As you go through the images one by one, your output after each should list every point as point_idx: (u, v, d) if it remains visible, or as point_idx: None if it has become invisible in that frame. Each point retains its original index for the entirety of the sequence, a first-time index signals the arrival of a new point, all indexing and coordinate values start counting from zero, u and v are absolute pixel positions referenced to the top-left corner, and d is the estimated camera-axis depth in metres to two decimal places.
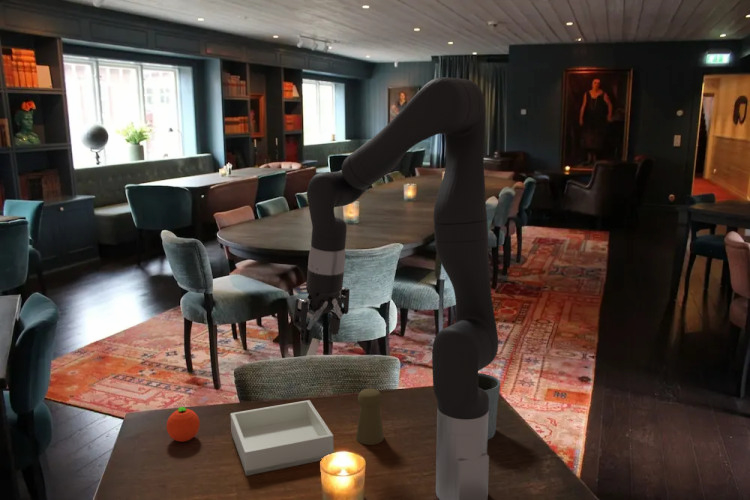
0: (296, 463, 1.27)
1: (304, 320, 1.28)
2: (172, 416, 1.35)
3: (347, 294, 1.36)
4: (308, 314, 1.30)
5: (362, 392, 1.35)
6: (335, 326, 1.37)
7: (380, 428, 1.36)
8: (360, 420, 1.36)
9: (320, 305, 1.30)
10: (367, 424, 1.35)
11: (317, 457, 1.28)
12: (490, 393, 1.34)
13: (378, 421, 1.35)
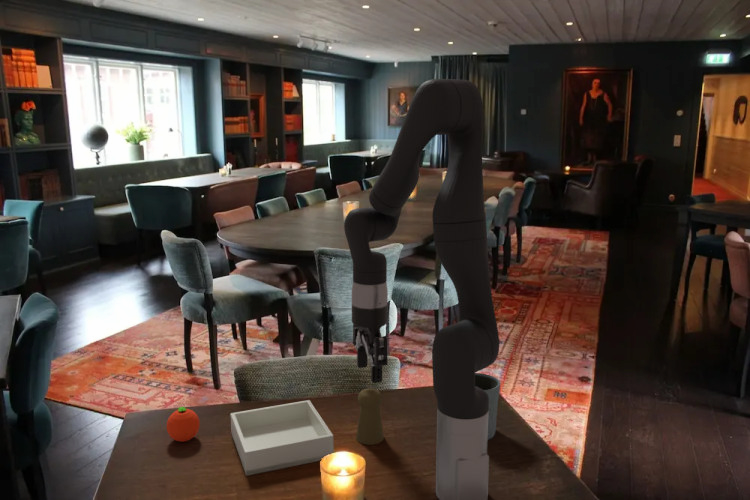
0: (296, 463, 1.27)
1: None
2: (172, 416, 1.35)
3: None
4: None
5: (362, 392, 1.35)
6: (365, 358, 1.38)
7: (380, 428, 1.36)
8: (360, 420, 1.36)
9: None
10: (367, 424, 1.35)
11: (317, 457, 1.28)
12: (490, 393, 1.34)
13: (378, 421, 1.35)
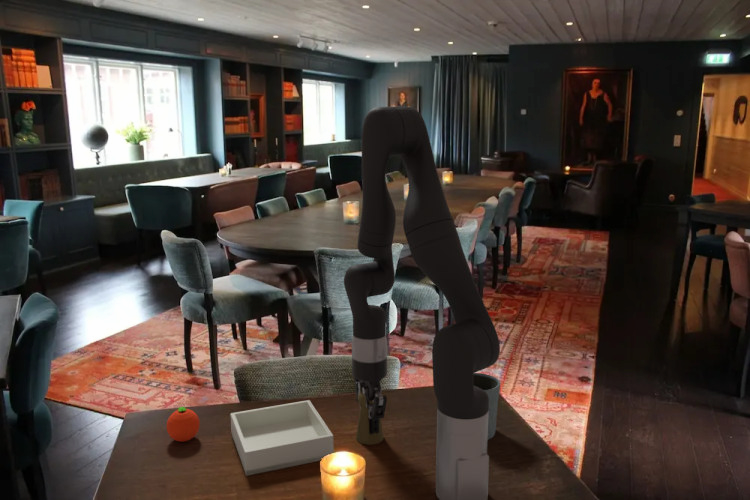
0: (296, 463, 1.27)
1: None
2: (172, 416, 1.35)
3: None
4: None
5: (362, 392, 1.35)
6: None
7: (380, 428, 1.36)
8: (360, 420, 1.36)
9: None
10: (367, 424, 1.35)
11: (317, 457, 1.28)
12: (490, 393, 1.34)
13: None
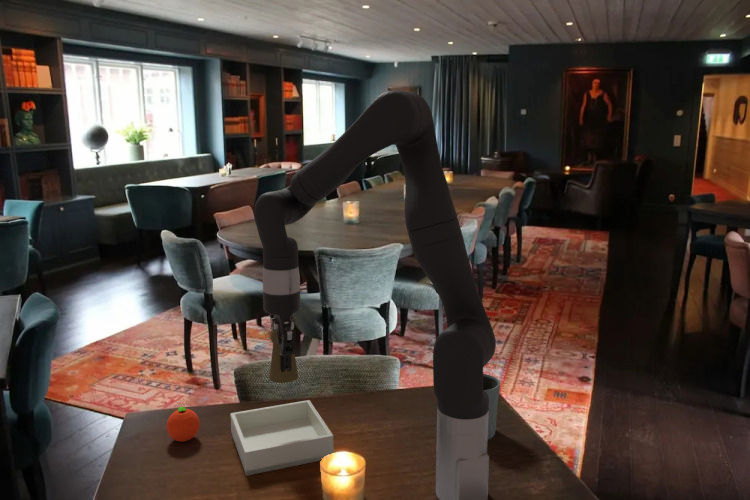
0: (296, 463, 1.27)
1: None
2: (172, 416, 1.35)
3: None
4: None
5: None
6: None
7: (293, 366, 1.30)
8: (272, 357, 1.30)
9: (291, 327, 1.28)
10: (279, 361, 1.29)
11: (317, 457, 1.28)
12: (490, 393, 1.34)
13: (291, 358, 1.30)
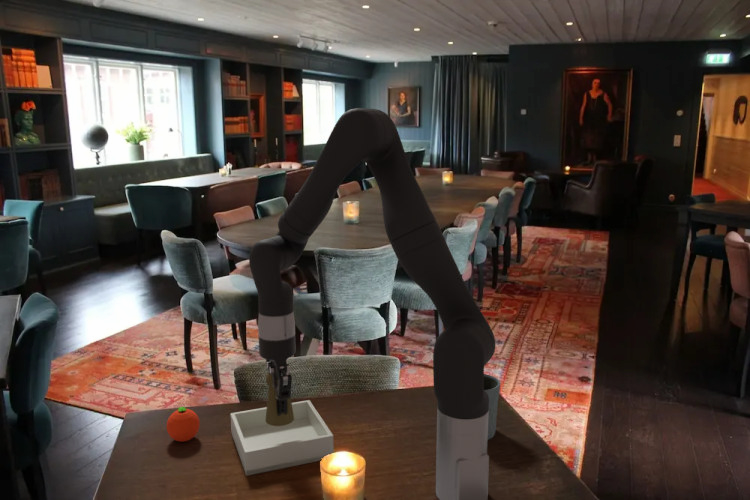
0: (296, 463, 1.27)
1: None
2: (172, 416, 1.35)
3: None
4: None
5: None
6: None
7: (289, 409, 1.32)
8: (268, 401, 1.31)
9: (287, 371, 1.30)
10: (275, 404, 1.30)
11: (317, 457, 1.28)
12: (490, 393, 1.34)
13: None
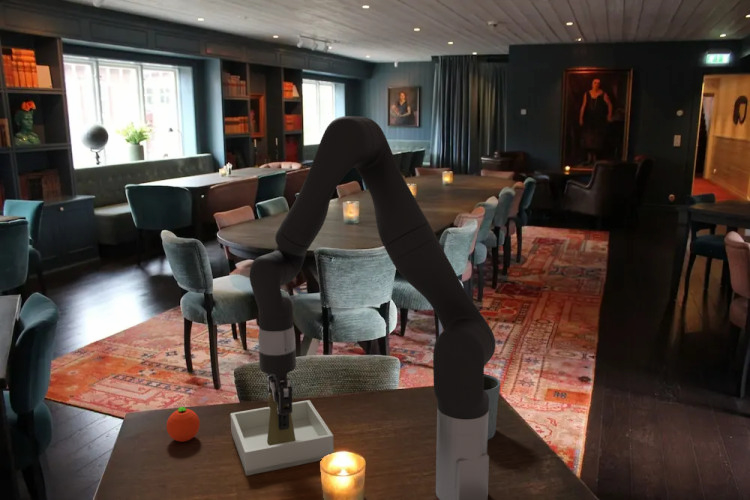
0: (296, 463, 1.27)
1: None
2: (172, 416, 1.35)
3: None
4: None
5: (272, 394, 1.32)
6: None
7: (291, 431, 1.33)
8: (270, 422, 1.33)
9: (287, 384, 1.30)
10: (276, 426, 1.31)
11: (317, 457, 1.28)
12: (490, 393, 1.34)
13: None
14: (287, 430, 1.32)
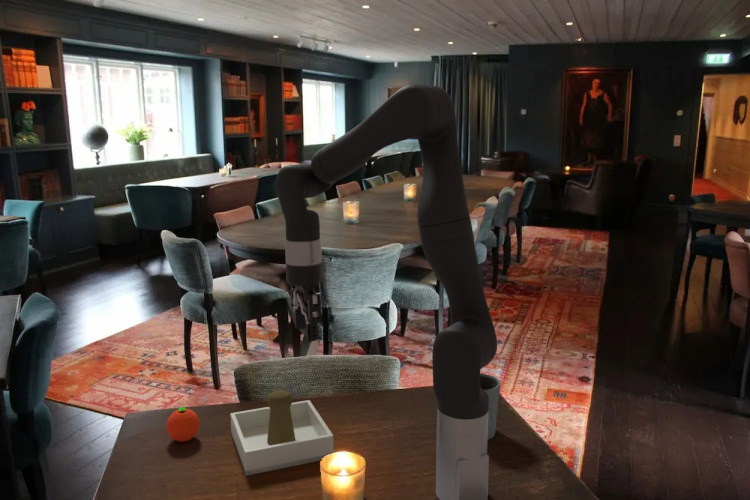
0: (296, 463, 1.27)
1: None
2: (172, 416, 1.35)
3: None
4: None
5: (271, 394, 1.32)
6: (303, 320, 1.37)
7: (291, 431, 1.33)
8: (270, 422, 1.33)
9: None
10: (276, 426, 1.31)
11: (317, 457, 1.28)
12: (490, 393, 1.34)
13: (288, 423, 1.32)
14: (287, 430, 1.32)
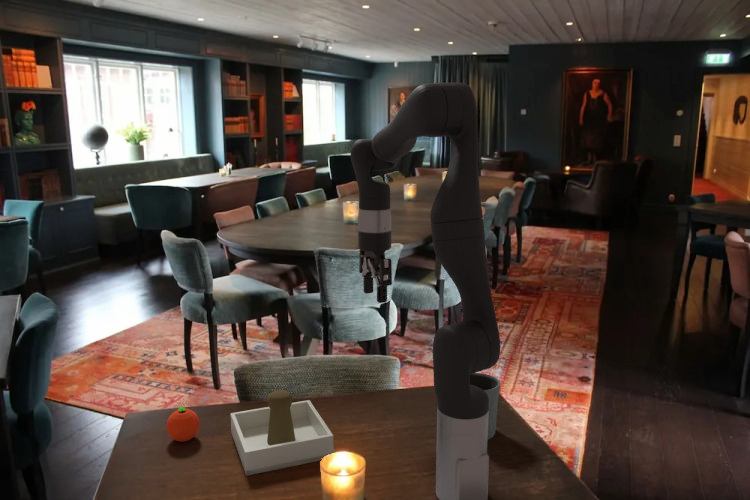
0: (296, 463, 1.27)
1: None
2: (172, 416, 1.35)
3: None
4: (380, 273, 1.40)
5: (271, 394, 1.32)
6: (371, 284, 1.49)
7: (291, 431, 1.33)
8: (270, 422, 1.32)
9: None
10: (276, 426, 1.31)
11: (317, 457, 1.28)
12: (490, 393, 1.34)
13: (288, 423, 1.32)
14: (287, 430, 1.32)
